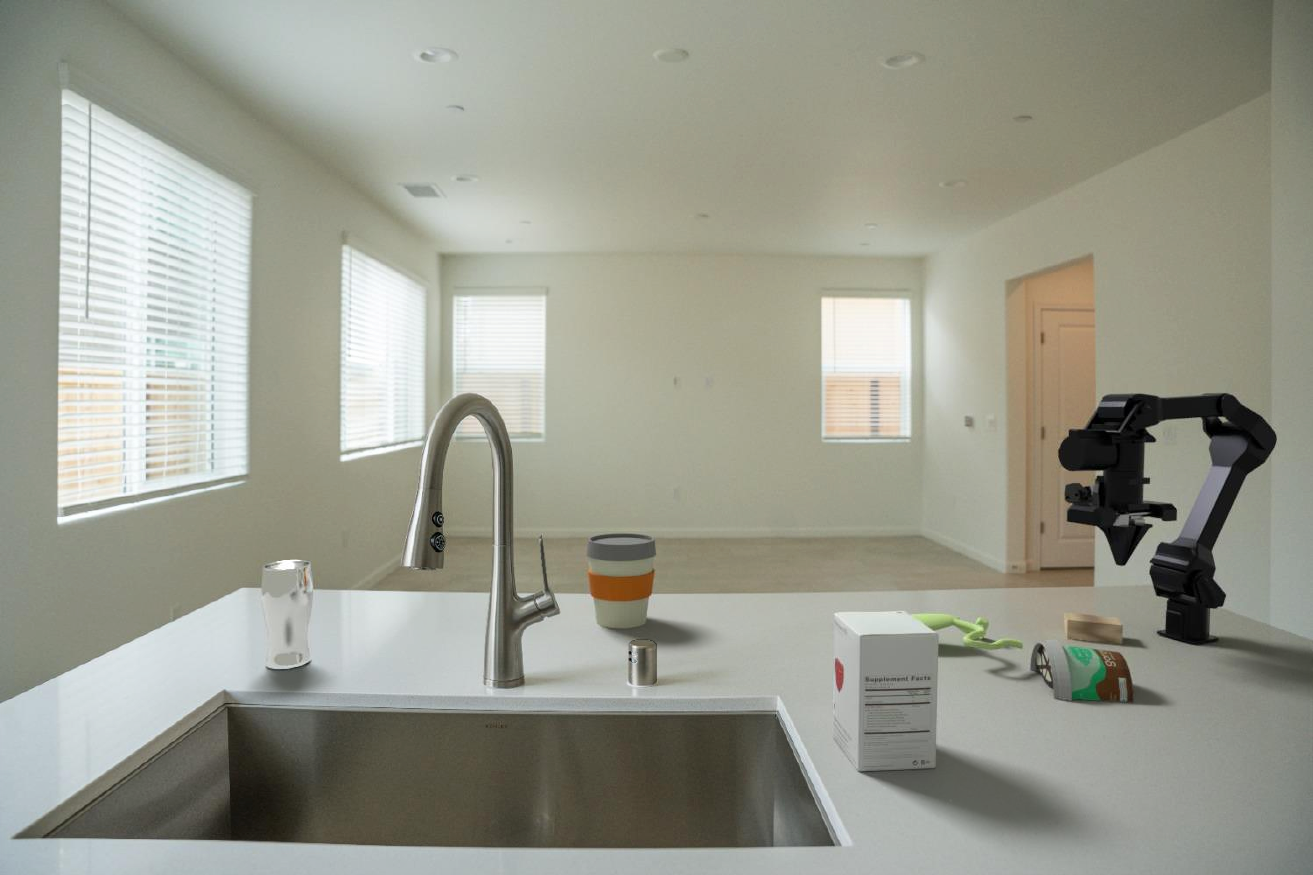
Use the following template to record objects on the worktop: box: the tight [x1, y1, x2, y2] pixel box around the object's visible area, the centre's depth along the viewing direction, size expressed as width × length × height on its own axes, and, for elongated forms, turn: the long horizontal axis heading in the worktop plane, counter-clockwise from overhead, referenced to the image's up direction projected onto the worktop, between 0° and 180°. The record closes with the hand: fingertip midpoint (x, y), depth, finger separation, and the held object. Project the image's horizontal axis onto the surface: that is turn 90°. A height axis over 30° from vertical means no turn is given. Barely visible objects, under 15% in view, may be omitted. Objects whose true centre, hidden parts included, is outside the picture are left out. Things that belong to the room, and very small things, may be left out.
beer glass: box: [260, 559, 314, 666], centre depth 114 cm, size 7×7×15 cm
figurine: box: [910, 613, 1024, 651], centre depth 122 cm, size 18×27×6 cm
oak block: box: [1063, 612, 1124, 646], centre depth 129 cm, size 8×5×4 cm, turn 68°
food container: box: [1029, 638, 1134, 703], centre depth 106 cm, size 12×6×10 cm
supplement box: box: [832, 610, 939, 772], centre depth 85 cm, size 9×9×15 cm
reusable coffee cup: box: [586, 532, 657, 629], centre depth 137 cm, size 13×13×15 cm
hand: (1120, 565), depth 125 cm, fingers closed
